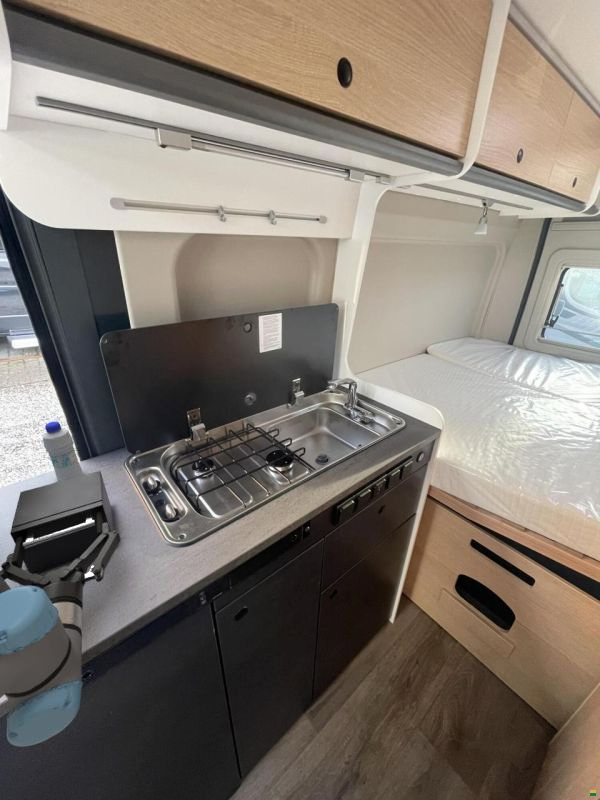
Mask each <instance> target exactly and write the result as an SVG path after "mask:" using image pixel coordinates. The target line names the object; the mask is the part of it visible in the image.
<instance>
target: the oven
mask: <svg viewBox="0 0 600 800" xmlns="http://www.w3.org/2000/svg"><path fill="white" fill-rule="evenodd" d="M99 501H103V504H104V507H105V510H106V514H107V517H108V520H109V524H110V527H111V530H112V532H113V531H114V530H115V529H114V528H115V527H114V518H113V508H112V505H111V501H110V499H109V494H108V491H107V488H106V485H105V481H104V478H103V475H102V471H101V470H98V471H95V472H90V473H87V474H83V476H79V477H75V478H71V479H68V480H64V481H60V482H59V481H56V482H53V483H49V484H45V485H42V486H38V487H34V488H31V489H27V490H23V491H20V493H19V498H18V500H17V503H16V508H15V512H14V516H13V520H12V523H11V529H12V528H14V527H17V526H20V525H23V524H27V523H30V522H33V521H37V520H40V519H43V518H47V517H50V516H53V515H56V514H60V513H63V512H66V511H70V510H73V509H76V508H80V507H83V506H86V505H89V504H93V503H96V502H99Z"/></svg>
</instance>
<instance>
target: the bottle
mask: <svg viewBox="0 0 600 800" xmlns="http://www.w3.org/2000/svg"><path fill="white" fill-rule="evenodd" d="M44 428H45V431H46V432H44V433H43V434H42V442H43V447H44V449H45V451H46V453H48V456H49V459H50V461H51V464H52V466H53V469H54V473H55V477H56V479H57V482H60V481H64V480H68V479H71V478H75V477H79V476H83V475H84V473H83V469H82V467H81V465H80V462H79V460H78V456H77V453H76V451H75V448H74V447H75V446H74V440H73V437H72V435H71V433H70V431H69V430H68V429H67V428H66V427H62V426H61V424H60V422H58V421H50V422H47V423H46V424H45V426H44Z"/></svg>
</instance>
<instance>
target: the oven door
mask: <svg viewBox="0 0 600 800" xmlns="http://www.w3.org/2000/svg"><path fill="white" fill-rule="evenodd" d="M98 512H101V515H102V518H103V522H104V523H106V522H107V523H108V525H109V529H110V532H112V530H111V527H110V524H109V520H108V517H107V514H106V510H105V507H104V504H103V501H99V502H96V503H93V504H89V505H86V506H83V507H80V508H76V509H73V510H70V511H66V512H63V513H60V514H56V515H53V516H50V517H47V518H43V519H40V520H37V521H33V522H30V523H27V524H23V525H20V526H17V527H14V528H12V527H11V529H10V533H9V534H10V536H11V538H12V540H13V542H14V545H16V541H17V538H18V537H21V536H22V537H23V539H24V543H23V548H24V549H25V548H26V550H25V555H24V560H23V564H24V565H25V567H26V569H27V572H30V573H32V574H35V573H36V574H38V575H40V574H42V573H44V572H47V571H51V570H53V569H54V568H57V567H60V566H63V565H66V564H68V563H72V562H73V561H74V560H75V559H76V558H79V557H80V556H81V555H82V554H83V553H84V552H85V551H86V550H87V549H88V548H89V547H90V546H91V545H92V543H93V542H94V541H95V540H96V539H97V538H98V534H97V513H98Z"/></svg>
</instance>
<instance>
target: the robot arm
mask: <svg viewBox="0 0 600 800" xmlns="http://www.w3.org/2000/svg"><path fill="white" fill-rule="evenodd" d="M97 534H98V538H97V539H96V540H95V541H94V542H93V543H92V545H91V546H90V547H89V548H88V549H87V550H86V551H85V552H84V553H83V554H82V555H81V556H80V557H79V558H76V559H75V560H74V561H71V562H70V564H69V565H64V566H61V567H60V568H58V569H53V570H49V571H48V572H47V571H46V574H44V575H40V574H36V573H35V574H32V573H30V572H29V571H28V570H25V569H23V564H24V561H23V560H24V555H25V550H26V548H25V549H24V548H23V543H24V539H23V537H22V536H21V537H18V538H17V541H16V544H14V549H13V553H9V554H8V555H7V557H6V560H5V561H4V562H2V564H1V565H0V567H1V569H0V699H2V697H3V696H5V697H6V699H7V700H8V701H9V712H8V714H7V716H6V739H7V741H8V743H9V744H10V745H13V746H14V747H29V746H34V745H37V744H40V743H43V742H45V741H47V740H49V739H51V738H53V737H54V736H56V735H58V734H59V733H61V732H62V731H64V729H66V728H67V727H68V726H69V725H70V724H71V723H72V722H73V720H74V719H75V718H76V716H77V714H78V712H79V710H80V707H81V697H82V688H83V686H84V682H83V680H82V679H83V677H82V671H83V670H82V667H83V666H82V665H83V664H82V662H83V661H82V660H83V659H82V658H83V656H82V655H83V608H84V607H83V605H84V586H85V584H86V583H87V582H90V581H94V580H95V581H96V582H102V581H103V580H104V577H105V570H106V568H107V567H108V565H109V563H110V561H111V559H112V557H113V555H114V553H115V552H116V550H117V548H118V546H119V545H120V542H121V536H120V533H119V529H114V531H113V532H110V529H109V525H108V523H107V522H106V523H104V522H103V518H102V515H101V512H98V513H97ZM92 564H93V565H92ZM89 567H90V569H89V571H88V568H89ZM5 580H10V581H12V582H14V583H16V584H18V585H21V586H16V587H13V588H11V587H10V585H9V584H8V583H7V582H6V581H5Z"/></svg>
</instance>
